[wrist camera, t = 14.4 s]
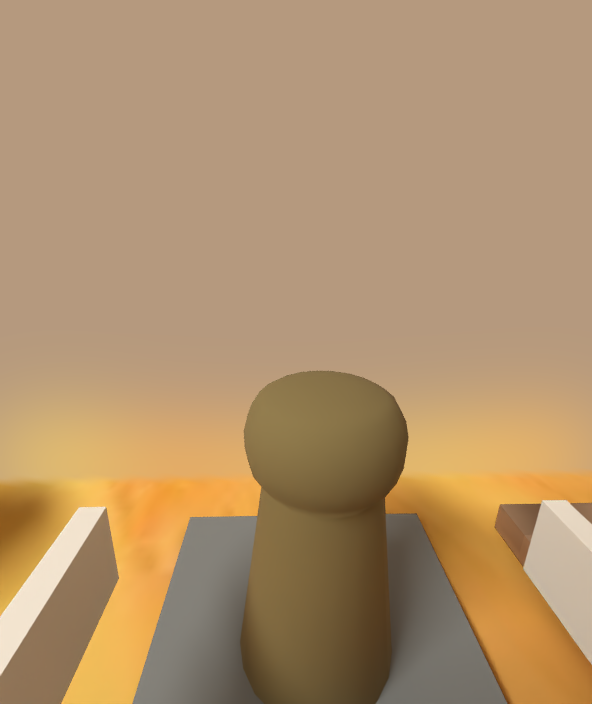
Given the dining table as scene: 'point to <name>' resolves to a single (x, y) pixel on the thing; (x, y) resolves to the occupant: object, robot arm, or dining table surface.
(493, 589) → the dining table surface
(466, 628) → the gray mat
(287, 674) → the brown tall rounded piece
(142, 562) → the dining table surface
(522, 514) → the walnut holder
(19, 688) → the robot arm
